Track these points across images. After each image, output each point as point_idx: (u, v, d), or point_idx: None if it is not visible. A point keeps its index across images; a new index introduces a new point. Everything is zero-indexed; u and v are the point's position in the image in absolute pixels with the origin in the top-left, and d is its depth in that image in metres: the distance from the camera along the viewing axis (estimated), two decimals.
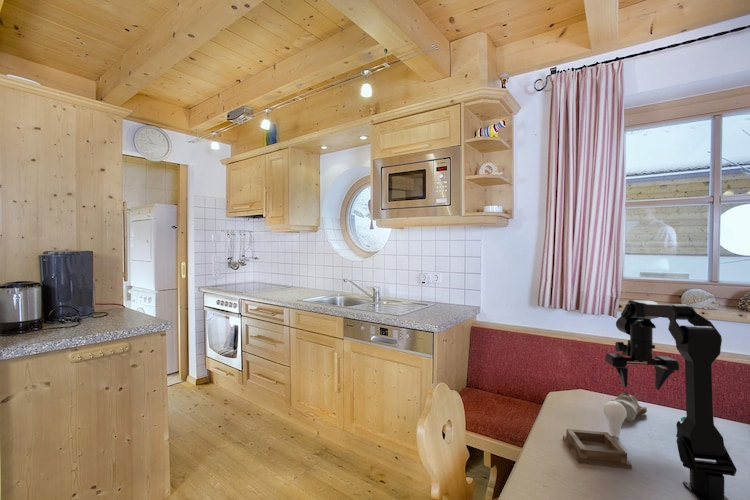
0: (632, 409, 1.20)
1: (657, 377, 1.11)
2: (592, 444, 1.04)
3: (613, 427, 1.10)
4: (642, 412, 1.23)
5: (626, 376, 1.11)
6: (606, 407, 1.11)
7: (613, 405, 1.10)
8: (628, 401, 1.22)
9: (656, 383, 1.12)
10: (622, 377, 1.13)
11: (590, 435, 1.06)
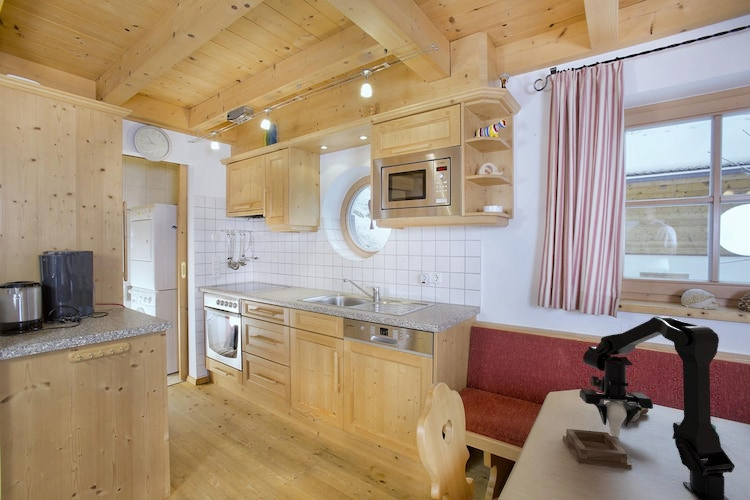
0: None
1: None
2: (592, 444, 1.04)
3: (613, 427, 1.10)
4: (644, 412, 1.23)
5: (605, 414, 1.09)
6: None
7: (613, 405, 1.10)
8: None
9: (624, 420, 1.10)
10: (601, 414, 1.11)
11: (590, 435, 1.06)
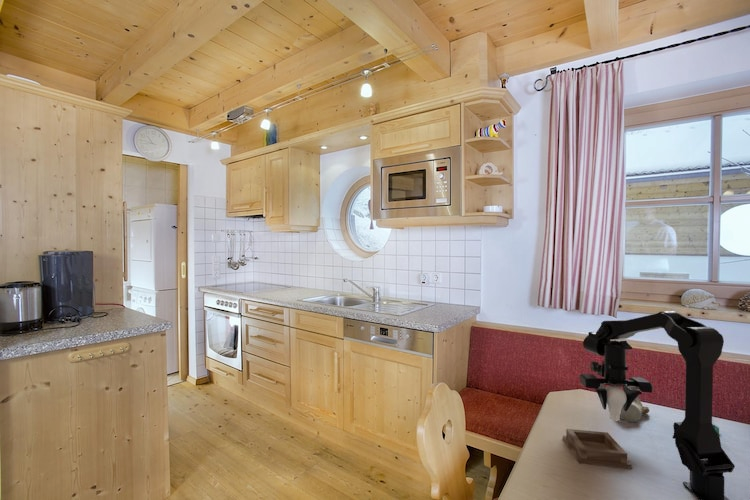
0: (638, 409, 1.19)
1: None
2: (592, 444, 1.04)
3: (612, 412, 1.10)
4: (645, 412, 1.23)
5: (605, 398, 1.10)
6: None
7: (612, 389, 1.10)
8: None
9: (624, 404, 1.10)
10: (601, 399, 1.11)
11: (590, 435, 1.06)
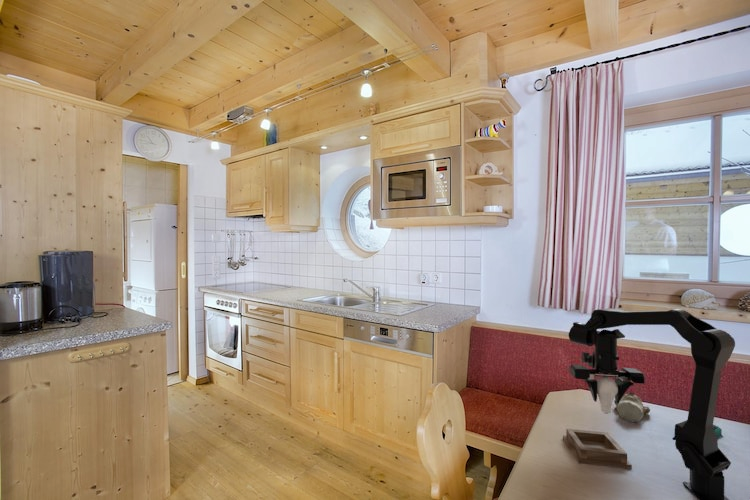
0: (639, 409, 1.19)
1: None
2: (592, 444, 1.04)
3: (603, 404, 1.05)
4: (646, 412, 1.24)
5: (595, 389, 1.05)
6: (597, 382, 1.06)
7: (603, 380, 1.05)
8: (634, 401, 1.22)
9: (616, 396, 1.06)
10: (592, 390, 1.06)
11: (590, 435, 1.06)
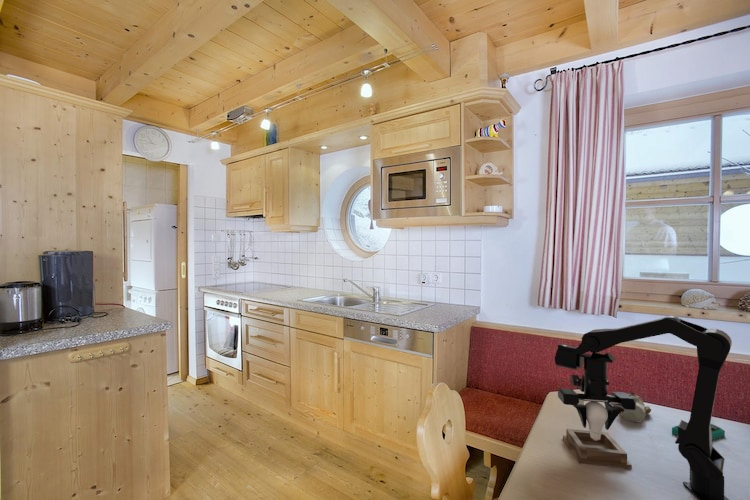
0: (642, 409, 1.19)
1: None
2: (592, 444, 1.04)
3: (593, 430, 1.01)
4: (647, 412, 1.24)
5: (585, 416, 1.00)
6: (586, 408, 1.02)
7: (593, 406, 1.01)
8: (636, 402, 1.22)
9: (606, 422, 1.01)
10: (581, 416, 1.02)
11: None
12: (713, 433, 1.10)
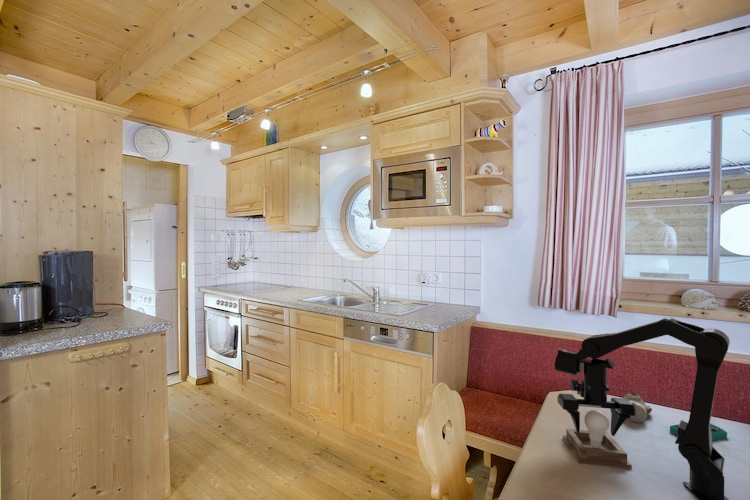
0: (643, 409, 1.19)
1: (613, 422, 1.01)
2: None
3: (593, 439, 1.01)
4: (648, 411, 1.24)
5: (578, 421, 1.01)
6: (587, 416, 1.02)
7: (594, 415, 1.01)
8: (637, 402, 1.22)
9: (612, 428, 1.01)
10: (574, 421, 1.02)
11: None
12: (713, 434, 1.09)
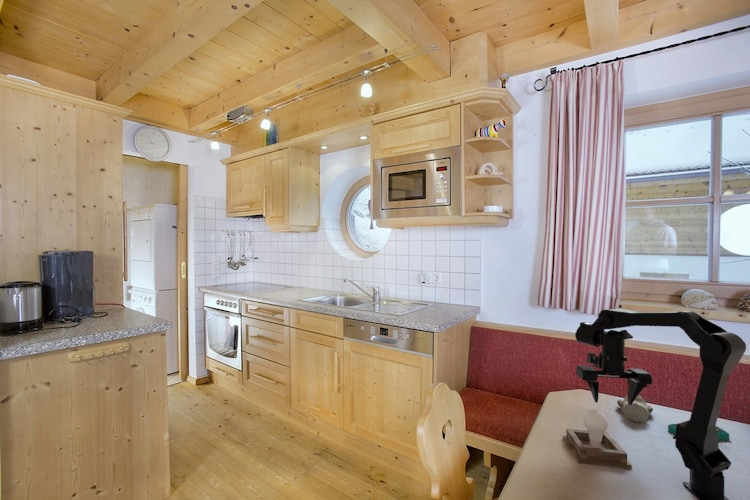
0: (646, 410, 1.19)
1: (630, 391, 1.04)
2: None
3: (593, 439, 1.01)
4: (650, 411, 1.24)
5: (597, 391, 1.04)
6: (586, 417, 1.02)
7: (593, 415, 1.01)
8: (639, 402, 1.22)
9: (629, 398, 1.04)
10: (593, 391, 1.05)
11: None
12: None
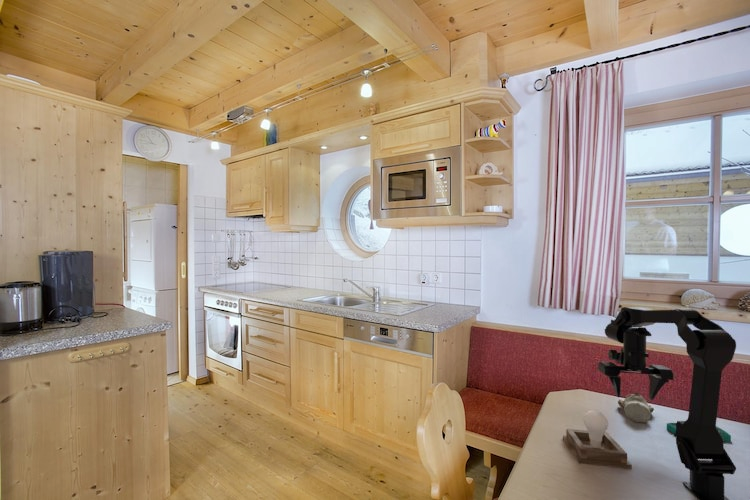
0: (647, 409, 1.19)
1: (651, 387, 1.08)
2: None
3: (593, 439, 1.01)
4: (651, 411, 1.24)
5: (619, 385, 1.08)
6: (586, 417, 1.02)
7: (593, 415, 1.01)
8: (641, 402, 1.22)
9: (650, 393, 1.08)
10: (615, 386, 1.09)
11: None
12: None
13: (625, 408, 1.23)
